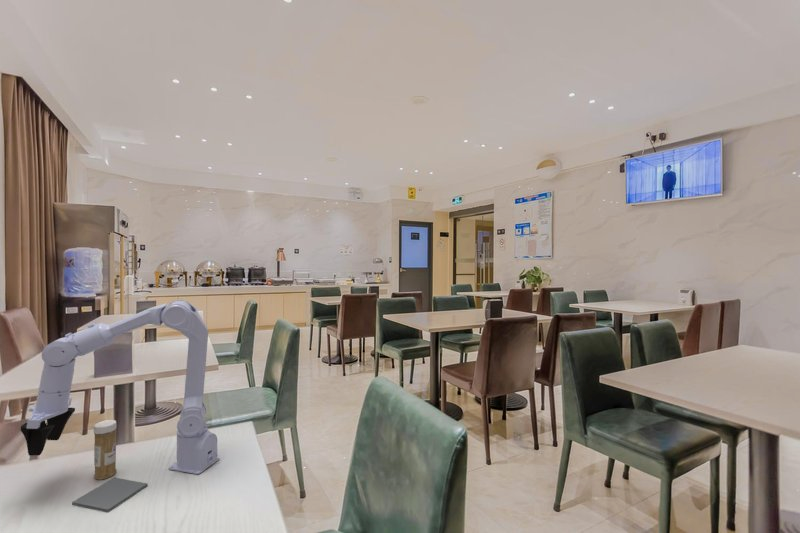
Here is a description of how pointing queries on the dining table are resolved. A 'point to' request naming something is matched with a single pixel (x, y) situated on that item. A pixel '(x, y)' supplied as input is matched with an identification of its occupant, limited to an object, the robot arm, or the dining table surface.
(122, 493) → the coaster
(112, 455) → the sprinkles bottle
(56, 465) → the dining table surface
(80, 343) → the robot arm
